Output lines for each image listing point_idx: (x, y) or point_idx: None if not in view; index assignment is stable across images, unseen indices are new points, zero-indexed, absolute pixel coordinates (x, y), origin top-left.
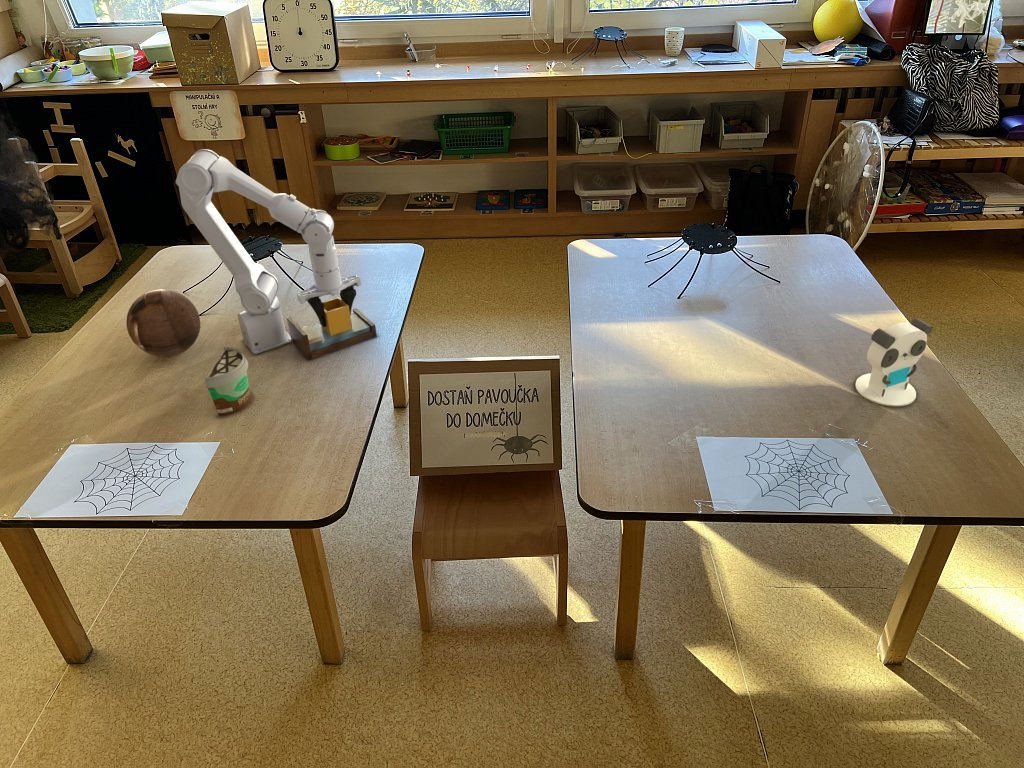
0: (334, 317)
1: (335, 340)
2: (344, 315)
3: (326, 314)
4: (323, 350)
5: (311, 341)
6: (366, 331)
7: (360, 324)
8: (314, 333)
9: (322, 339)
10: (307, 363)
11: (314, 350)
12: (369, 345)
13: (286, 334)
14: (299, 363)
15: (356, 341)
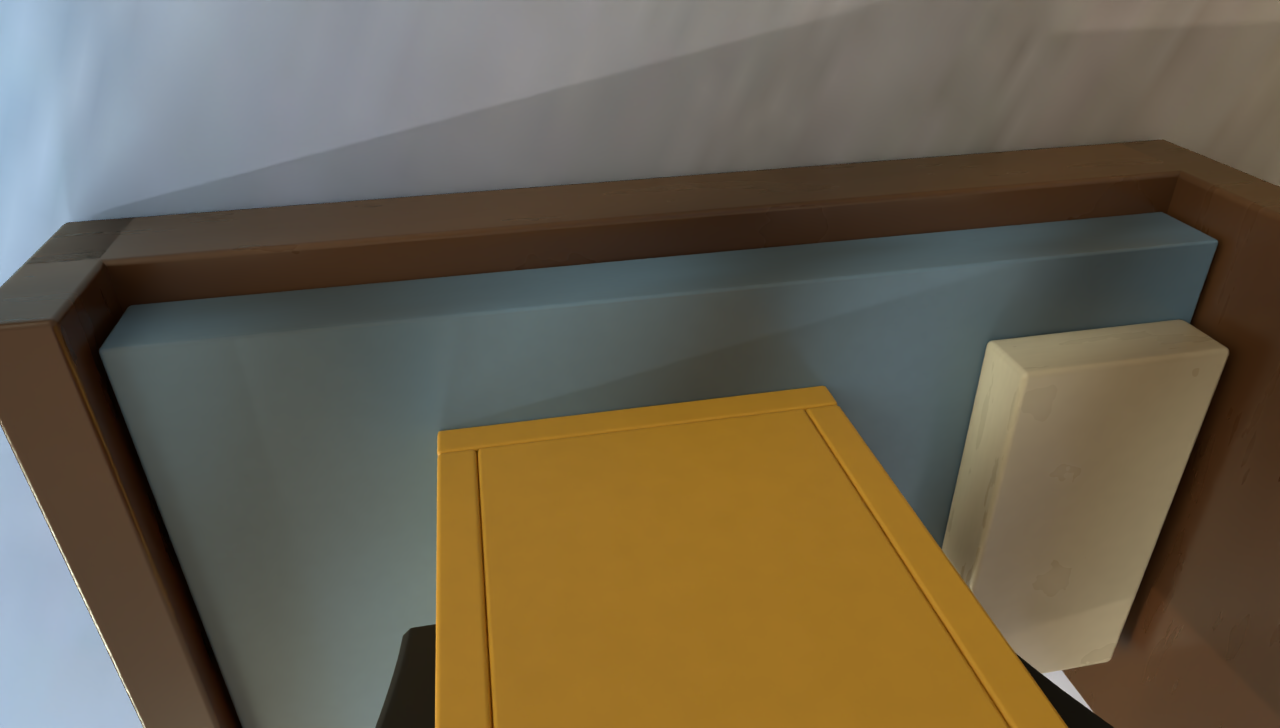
0: (831, 630)
1: (802, 262)
2: (580, 644)
3: (1054, 724)
4: (994, 176)
5: (1161, 337)
6: (209, 304)
7: (263, 489)
8: (1036, 491)
9: (971, 348)
10: (1211, 78)
11: (1112, 212)
12: (263, 19)
13: (1049, 673)
14: (1264, 138)
15: (445, 207)
